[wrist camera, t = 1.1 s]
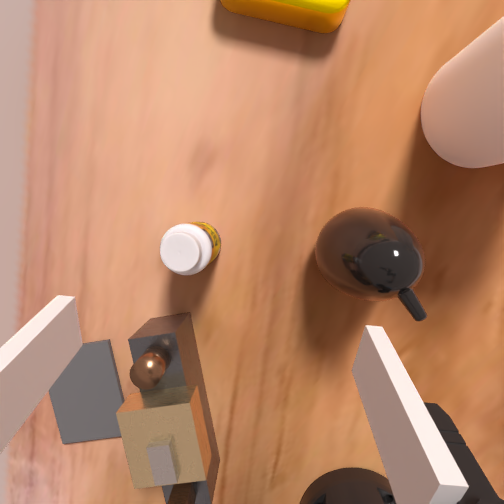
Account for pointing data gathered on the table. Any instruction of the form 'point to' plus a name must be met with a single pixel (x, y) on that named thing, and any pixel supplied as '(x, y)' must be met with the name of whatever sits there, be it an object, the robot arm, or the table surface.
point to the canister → (469, 104)
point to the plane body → (171, 376)
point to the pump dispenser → (372, 257)
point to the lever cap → (165, 437)
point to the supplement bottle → (190, 247)
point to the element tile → (294, 12)
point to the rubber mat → (88, 395)
